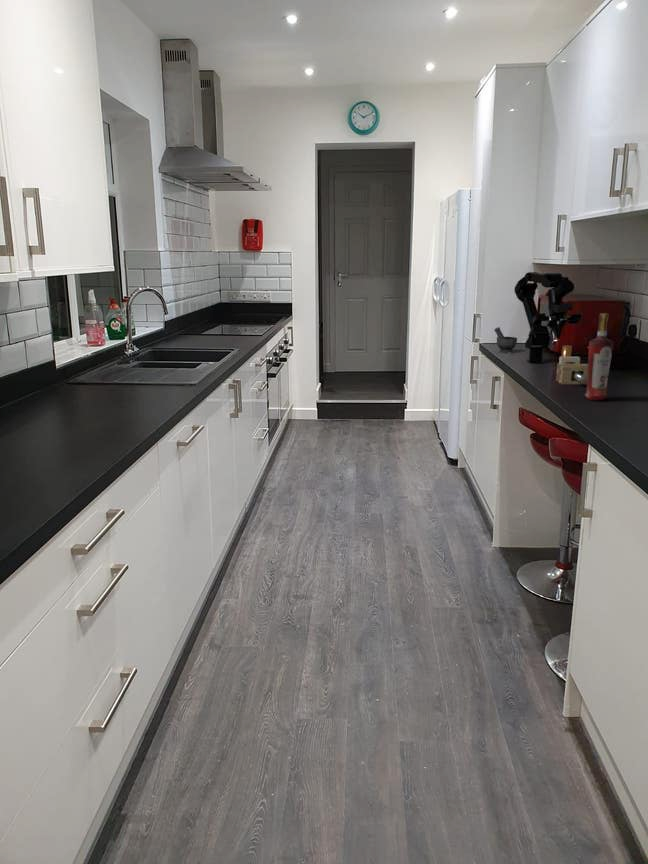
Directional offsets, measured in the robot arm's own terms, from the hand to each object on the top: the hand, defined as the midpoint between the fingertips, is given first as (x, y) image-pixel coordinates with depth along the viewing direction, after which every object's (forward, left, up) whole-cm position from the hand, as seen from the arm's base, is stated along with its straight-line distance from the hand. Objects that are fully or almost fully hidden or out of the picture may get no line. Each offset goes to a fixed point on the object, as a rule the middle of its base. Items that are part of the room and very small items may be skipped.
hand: (558, 338), depth 271 cm
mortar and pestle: (-51, -10, -13) cm, 53 cm away
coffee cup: (0, +17, -13) cm, 22 cm away
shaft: (+24, -1, -13) cm, 28 cm away
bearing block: (+26, -1, -13) cm, 29 cm away
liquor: (+56, -3, -13) cm, 57 cm away
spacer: (+19, -1, -13) cm, 23 cm away
